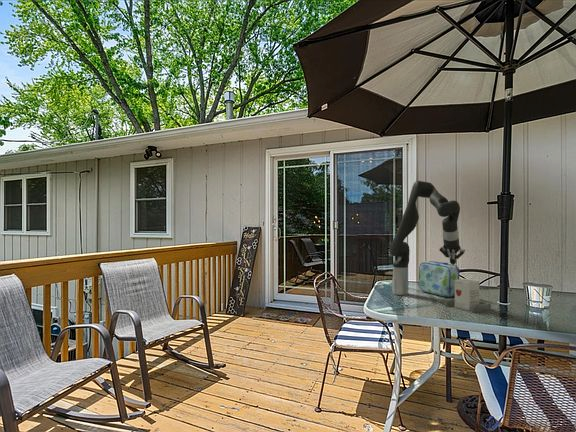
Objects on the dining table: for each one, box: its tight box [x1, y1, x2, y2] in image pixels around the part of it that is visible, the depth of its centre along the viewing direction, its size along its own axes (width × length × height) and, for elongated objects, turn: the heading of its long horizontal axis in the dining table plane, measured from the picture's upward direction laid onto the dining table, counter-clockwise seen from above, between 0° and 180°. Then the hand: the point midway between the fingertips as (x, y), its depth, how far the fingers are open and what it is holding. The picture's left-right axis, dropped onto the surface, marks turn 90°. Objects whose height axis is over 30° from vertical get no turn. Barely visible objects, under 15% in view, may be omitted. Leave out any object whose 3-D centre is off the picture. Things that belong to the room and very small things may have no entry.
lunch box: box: [418, 260, 461, 298], centre depth 220 cm, size 26×11×21 cm, turn 25°
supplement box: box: [454, 278, 480, 312], centre depth 187 cm, size 9×9×15 cm
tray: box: [444, 298, 492, 314], centre depth 188 cm, size 16×16×3 cm
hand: (453, 263), depth 188 cm, fingers closed
